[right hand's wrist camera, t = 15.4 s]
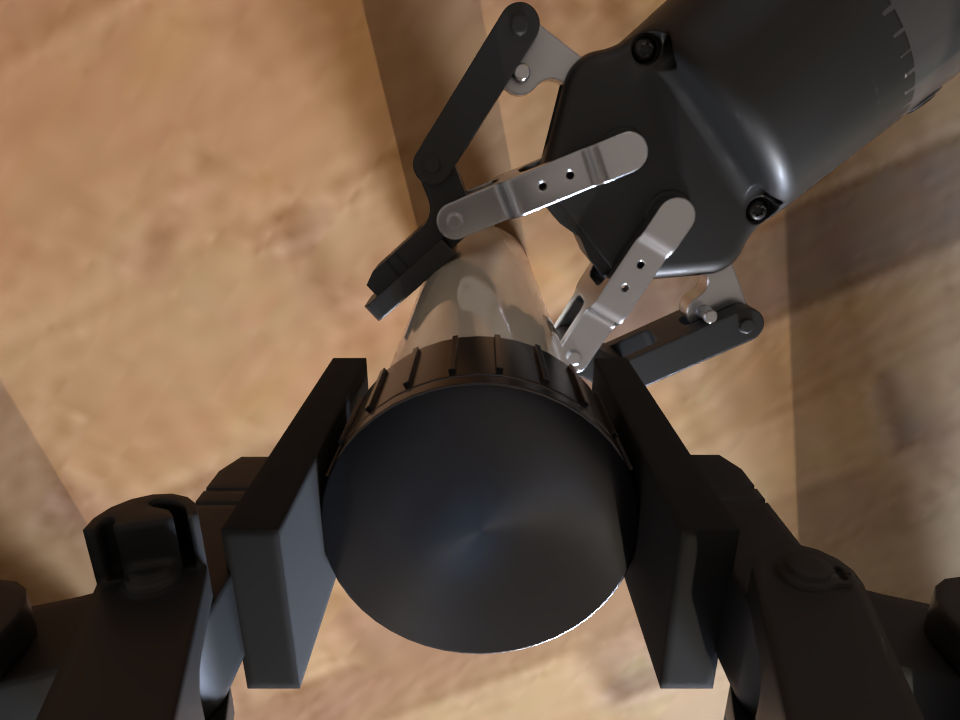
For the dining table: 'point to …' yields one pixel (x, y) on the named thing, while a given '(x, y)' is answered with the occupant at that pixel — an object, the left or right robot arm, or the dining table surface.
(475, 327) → the cream cylindrical bottle
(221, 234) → the dining table surface
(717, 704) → the dining table surface
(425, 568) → the lid
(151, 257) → the dining table surface
